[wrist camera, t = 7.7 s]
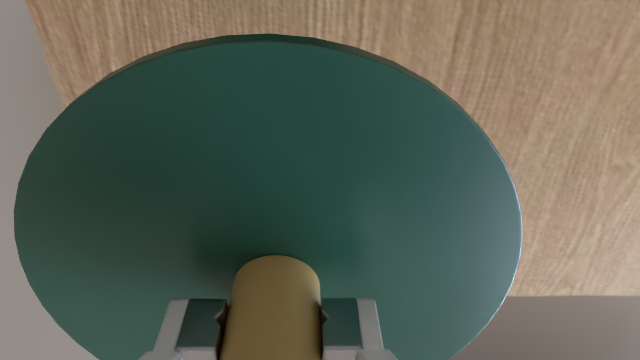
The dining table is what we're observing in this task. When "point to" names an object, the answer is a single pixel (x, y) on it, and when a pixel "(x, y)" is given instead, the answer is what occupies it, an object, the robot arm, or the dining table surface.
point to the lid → (267, 201)
